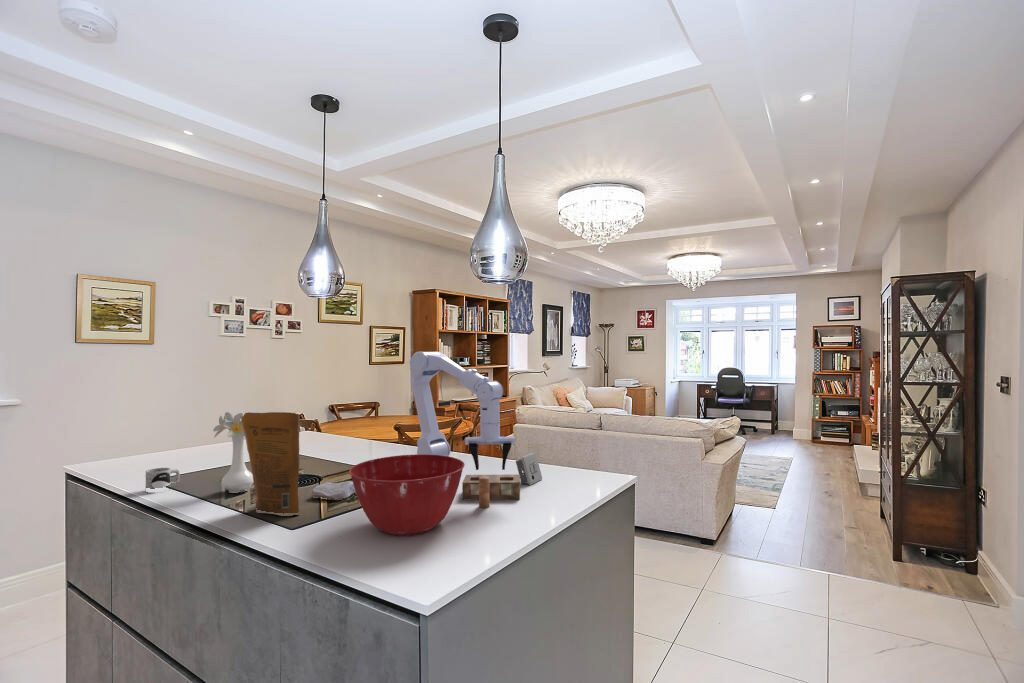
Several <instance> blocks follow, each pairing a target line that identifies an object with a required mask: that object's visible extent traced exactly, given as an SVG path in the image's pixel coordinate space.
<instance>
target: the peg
mask: <svg viewBox="0 0 1024 683" xmlns="http://www.w3.org/2000/svg"><path fill="white" fill-rule="evenodd" d="M490 500H491V499H490V494H489V477H480V478H479V500H478V507H479V508H480V509H488V508H491V507H490V506H491V505H490V502H491V501H490Z"/></svg>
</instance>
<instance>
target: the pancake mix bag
mask: <svg viewBox="0 0 1024 683" xmlns="http://www.w3.org/2000/svg"><path fill="white" fill-rule="evenodd" d="M300 420H301V415H299V414H297V413H296V412H285V411H284V412H282V411H278V412H276V411H274V412H273V411H270V412H249V411H248V412H245V413H244V414H243V416H241V419H240V421H241V422H242V427H243V430H244V434H245V436H244V440H245V443H246V449H247V454H248V459H249V463H250V469H251V473H252V474H253V486H254V490H255V496H256V503H255V509H256V508H257V510H261V511H266V512H274V513H283V514H284V513H298V512H300V506H299V505H300V503H299V500H300V499H299V476H300V475H299V473H300V472H299V471H300V470H299V469H300Z"/></svg>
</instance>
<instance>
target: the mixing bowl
mask: <svg viewBox="0 0 1024 683" xmlns="http://www.w3.org/2000/svg"><path fill="white" fill-rule="evenodd" d="M464 467H465V462H464V461H463V460H461V459H459V458H456V457H453V456H450V455H449V456H442V455H427V454H417V453H416V454H402V455H393V456H385V457H380V458H379V457H378V458H373V459H370V460H366V461H363V462H359V463H357V464H355V465H353V466H351V467H350V469H349V470H348V473H349V475H351V476H350V477H351V481H352V482H353V484H354V488H355V491H356V494H355V495H356V496H357V500H358V501H359V504H360V506H361V508H362V509H363V512H364V514H365V515H366V517H367V519H368V521H369V522H370V523H371V524H372V525H373V526H374V527H375V528H377V529H378V530H381V531H382V532H383V531H384V532H383V533H385V534H387V533H388V535H391V534H392V535H391V536H403V535H404V536H412V535H414V534H415V535H420V534H424V533H427V532H429V531H431V530H433V529H434V528H435V527H436V526H438V525H439V524H440V523H441V522H443V520H444V519H445V518H446V516H447V514H448V513H449V511H450V509H451V507H452V504H453V502H454V499H455V498H456V497H455V496H456V495H457V492H458V489H459V485H460V481H461V477H462V474H463V473H462V472H463V469H464ZM423 532H424V533H423Z"/></svg>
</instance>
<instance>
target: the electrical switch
mask: <svg viewBox="0 0 1024 683" xmlns="http://www.w3.org/2000/svg"><path fill="white" fill-rule="evenodd" d="M515 465H516V468H517V471H518V475H520V485H523V484H527V485H528V486H532V485H533V484H536V483H538V482H539V481H541V480H543V475H542V471H541V467H540V462H539V460H538V457H537V454H536V452H531V453H529V454H527V455H523V456H521V458H520V459H517V460H515Z"/></svg>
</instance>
